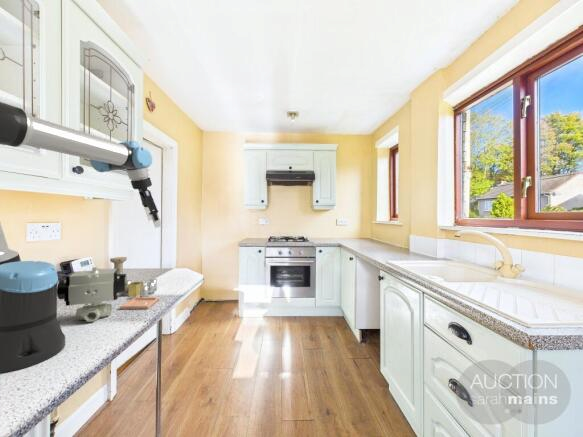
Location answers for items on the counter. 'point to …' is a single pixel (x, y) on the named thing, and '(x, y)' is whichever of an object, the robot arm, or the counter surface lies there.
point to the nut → (134, 288)
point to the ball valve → (92, 291)
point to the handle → (118, 262)
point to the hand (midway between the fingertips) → (155, 223)
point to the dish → (140, 303)
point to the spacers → (144, 288)
